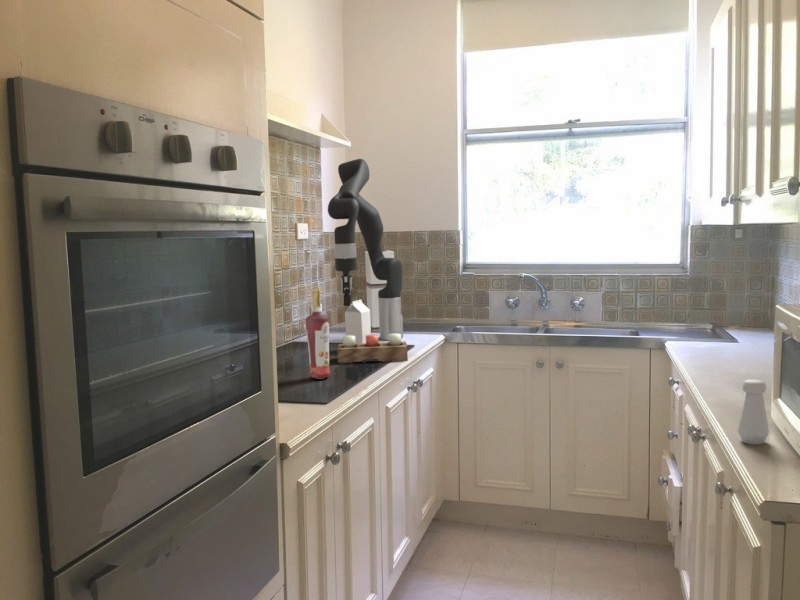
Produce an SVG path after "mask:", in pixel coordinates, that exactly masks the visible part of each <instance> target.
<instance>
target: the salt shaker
mask: <svg viewBox="0 0 800 600" xmlns="http://www.w3.org/2000/svg"><path fill="white" fill-rule="evenodd" d="M742 391H743V392H745V395H744V399H743V404H742V409H741V413H740V417H739V421H738V424H737V433H738V435H739V437H740V439H741V440H742V443H745V444H748V445H754V446H757V445H763V444H764V443H765V442H766V439H767V437H768V436H769V433H770V428H769V424H768V417H767V412H766V405H765V399H764V393H766V391H767V384H766V383H765V381H763V380H760V379H754V378H753V379H745V380H743V382H742Z"/></svg>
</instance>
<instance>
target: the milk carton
mask: <svg viewBox="0 0 800 600" xmlns="http://www.w3.org/2000/svg"><path fill="white" fill-rule="evenodd" d="M344 325H345V336H347V335H354V336H355V340H356V343H366V335H370V334H372V331H371V322H370V310H369V309H368V308H367V305H365V304H364V303H363V300H362V299H357V300H353V301H351V303H350V306H348V309H346V310H345V311H344Z"/></svg>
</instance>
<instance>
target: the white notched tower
mask: <svg viewBox="0 0 800 600" xmlns="http://www.w3.org/2000/svg"><path fill="white" fill-rule="evenodd" d="M382 253H383V255H384V257H385V258H395V251H393V250H388V249H387V250H385V251H382ZM364 255H365V257H364V260H365V281H366V283H365V286H366V307H367V308H368V309H369V310H370V322H371V333H380V330H379V304H378V291H379V290H381V289H383V288H385V287H386V284H387V280H379V279H377V278H376V277H375V275H374V273H373V270H372V266H371V262H370V258H369V254H368V251H364Z"/></svg>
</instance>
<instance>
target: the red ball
mask: <svg viewBox="0 0 800 600" xmlns="http://www.w3.org/2000/svg"><path fill="white" fill-rule="evenodd" d="M378 342H379V334H377V333H376V334H372V333H371V334H370V335H366V346H378V345H379V344H378Z"/></svg>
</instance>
